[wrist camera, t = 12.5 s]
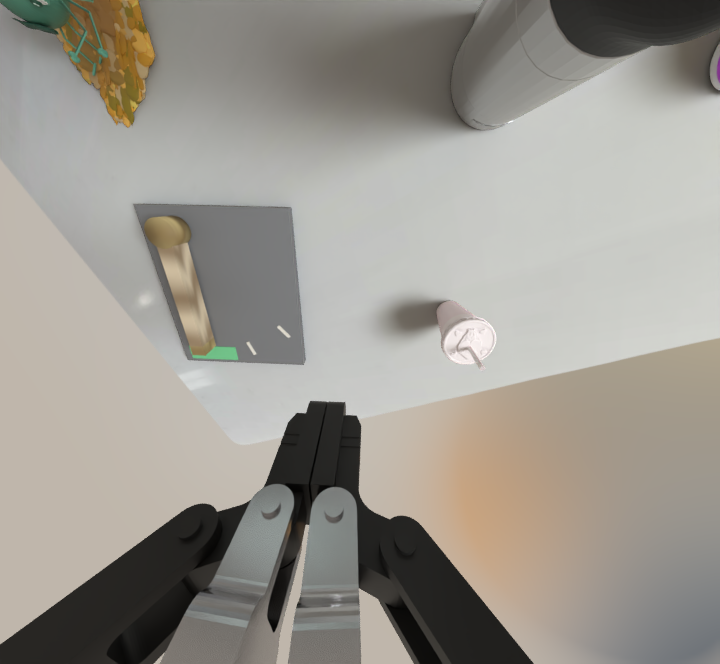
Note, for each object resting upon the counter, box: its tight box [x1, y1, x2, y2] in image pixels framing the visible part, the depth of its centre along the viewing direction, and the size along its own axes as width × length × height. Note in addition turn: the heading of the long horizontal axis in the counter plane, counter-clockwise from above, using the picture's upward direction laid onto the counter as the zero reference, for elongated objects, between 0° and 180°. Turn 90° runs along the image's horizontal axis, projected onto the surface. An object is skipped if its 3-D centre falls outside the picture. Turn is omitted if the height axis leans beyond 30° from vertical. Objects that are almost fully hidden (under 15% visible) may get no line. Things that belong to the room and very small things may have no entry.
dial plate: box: [134, 204, 306, 365], centre depth 39 cm, size 24×20×2 cm
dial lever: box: [144, 216, 216, 356], centre depth 36 cm, size 19×4×3 cm, turn 179°
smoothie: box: [436, 301, 496, 370], centre depth 34 cm, size 6×6×14 cm
